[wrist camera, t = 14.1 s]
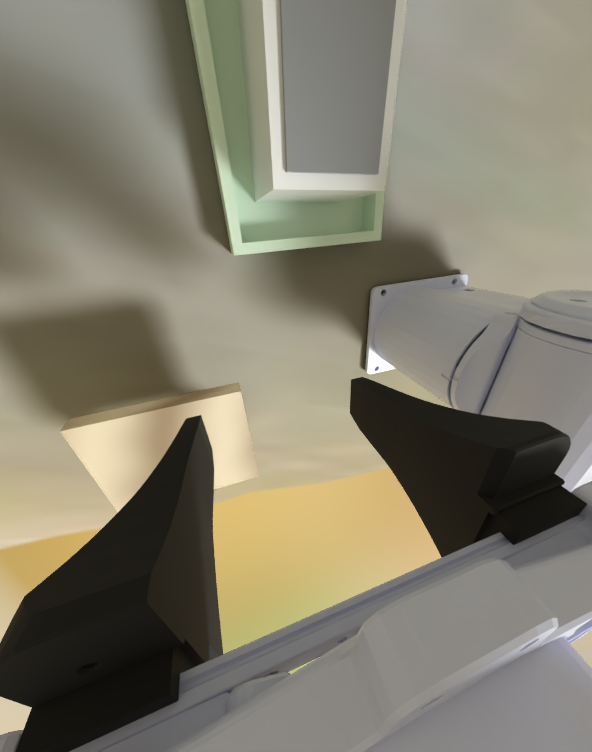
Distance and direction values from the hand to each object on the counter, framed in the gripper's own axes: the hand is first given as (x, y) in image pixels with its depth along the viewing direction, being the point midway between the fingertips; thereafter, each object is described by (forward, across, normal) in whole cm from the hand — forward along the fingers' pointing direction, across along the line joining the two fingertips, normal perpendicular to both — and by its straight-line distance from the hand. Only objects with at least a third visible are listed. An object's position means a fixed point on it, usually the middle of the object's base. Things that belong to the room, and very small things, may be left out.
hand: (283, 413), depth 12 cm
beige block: (+9, +6, +3) cm, 12 cm away
